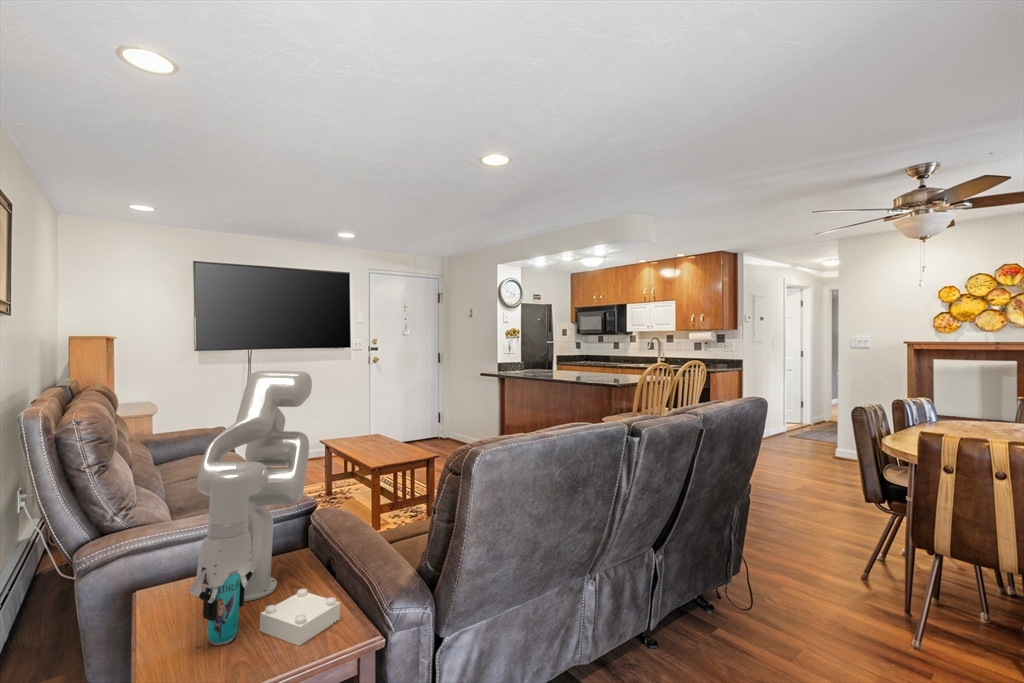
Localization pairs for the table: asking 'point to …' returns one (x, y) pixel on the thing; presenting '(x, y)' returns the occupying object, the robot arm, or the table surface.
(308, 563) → the table surface
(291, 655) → the table surface
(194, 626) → the table surface
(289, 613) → the brick
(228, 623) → the beverage can
